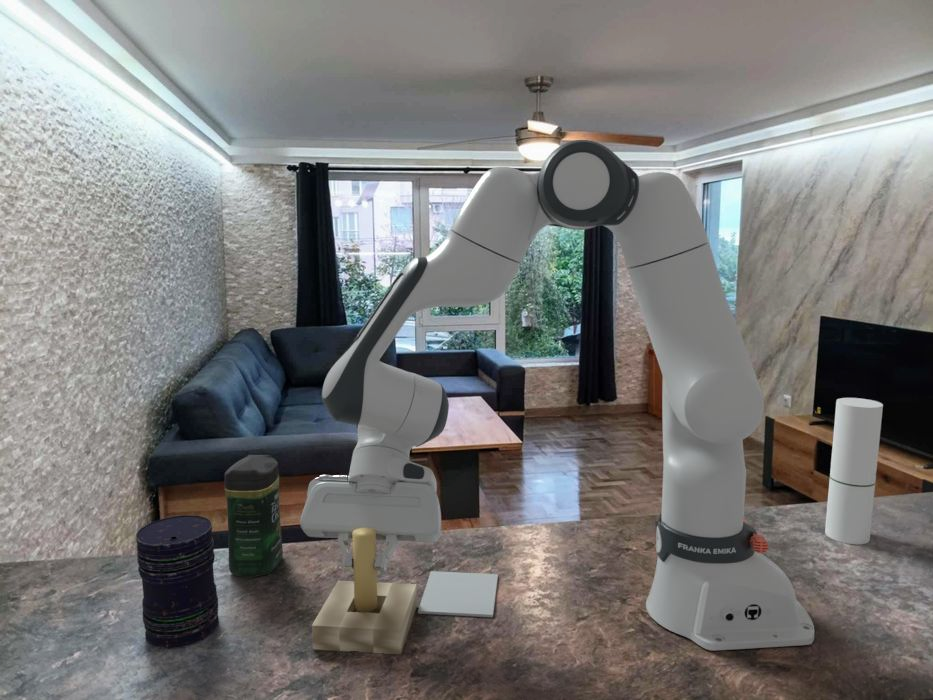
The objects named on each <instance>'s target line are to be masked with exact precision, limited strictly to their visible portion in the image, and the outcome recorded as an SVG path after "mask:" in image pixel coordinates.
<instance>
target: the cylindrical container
mask: <svg viewBox="0 0 933 700" xmlns="http://www.w3.org/2000/svg"><path fill="white" fill-rule="evenodd" d="M883 408H884V404H883V403H882V402H880V401H878V400H873V399H866V398H862V397H861V398H858V397H841V398H837V399H836V401H835V411H834V412H835V413H834V426H833V436H832V446H831V447H832V449H831V459H830V469H829V470H830V471H829V472H830V473H829V480H828V491H827V492H828V493H827V505H826V506H827V507H826V515H825V516H826V517H825V526H824V527H825V528H824V533H825V535H826V536H827V537H829V538H830V539H832V540H834V541H837V542H840V543H844V544H847V545H858V546H859V545H865V544H867V543H869V542H870V540H871V529H872V521H873V520H872V519H873V511H874V510H873V509H874V501H875V489H876V479H877V468H878V459H879V449H880V441H881V440H880V439H881V430H882V419H883Z"/></svg>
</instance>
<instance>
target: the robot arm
mask: <svg viewBox="0 0 933 700" xmlns="http://www.w3.org/2000/svg"><path fill="white" fill-rule="evenodd" d="M547 226H552V227H558V228H564V229H569V230H575V231H583V230H589V229H593V228H595V227H605V228H607V229H608V230H610V232H612V234H613V235H614V236H615V238H616V241H617V242H618V244H619V246H620V249H621V252H622V255H623V259H624V262H625V265H626V266H625V267H626V269H627V272H628V275H629V278H630V282H631V285H632V287H633V291H634V294H635V297H636V300H637V304H638V307H639V310H640V312H641V313H640V314H641V316H642V321H643V322H644V326H645V329H646V331H647V333H648V337H649V339H650V342H651V347H652V348H653V352H654V354H655V357H656V360H657V363H658V366H659V369H660V372H661V375H662V383H661V385H662V387H661V388H662V390H661V391H662V407H661V409H662V412H661V414H662V417H661V418H662V422H661V423H662V455H663V465H662V467H663V468H662V469H663V470H662V471H663V472H662V492H661V493H662V495H661V513H659V515H658V520H657V526H656V537H655V539H656V540H655V541H656V542H655V544H656V545H655V549H656V553H657V561H656V566H655V571H654V577H653V581H652V583H651V587H650V590H649V593H648V596H647V599H646V602H645V609H646V611H647V613H648V615H649V616H650V618H652V620H654V621H655V622H656V623H657V624H659V625H660V626H662V627H663V628H665V629H666V630H669V631H670V632H673V633H674V634H678V635H680V636H683V637H685V638H687V639H689V640H691V641H692V642H694V643H695V644H697V645H698V646H700V647H701V648H703V649H705V650H708V651H727V650H731V651H732V650H746V649H761V648H779V647H794V646H797V647H798V646H806V645H807V646H809V645H812V644H813V642H814V640H815V636H816V635H815V626H814V623H813V621H812V618H811V616H810V615H809V613H808V611H807V610H806V609H805V608H804V606H803V605H802V604H801V603H800V602H799V601H798V600H797V595H796V592H795V588H794V586H793V584H792V582H791V580H790V579H789V577H788V576H787V575H786V573H785V572H784V570H782V569H781V567H779V566H778V565H777V564H776V563H775V562H774V561H772V560H771V559H769V558H768V557H767V556H766V555H764V554H765V553H766V552H767V551H768V550H769V547H770V546H769V543H768V542H767V540H766V539H765V537H764V536H763V535H761V534H758V533H757V530H756V529H755V528H754V527H753V526H752V525H750V524H749V523H748V522H747V521H746V520H745V519H744V515H745V501H746V500H745V499H746V487H747V486H746V485H747V484H746V483H747V470H746V469H747V468H746V463H745V453H744V442H743V440H745V439H747V438H748V437H749V436H751V435H752V434H753V433H754V432H755V431H756V429H758V427H759V425H760V423H761V421H762V419H763V416H764V410H765V405H764V404H765V403H764V402H765V401H764V395H763V392H762V388H761V386H760V384H759V381H758V377H757V374H756V372H755V368H754V366H753V363H752V361H751V358H750V355H749V352H748V350H747V347H746V344H745V342H744V339H743V336H742V334H741V331H740V329H739V325H738V324H737V321H736V319H735V316H734V314H733V312H732V309H731V307H730V305H729V303H728V300H727V297H726V294H725V291H724V287H723V284H722V281H721V278H720V274H719V271H718V268H717V265H716V261H715V256H714V254H713V251H712V246H711V244H710V242H709V237H708V235H707V231H706V229H705V227H704V224H703V220H702V219H701V215H700V214H699V211H698V209H697V206H696V204H695V202H694V201H693V198H692V196H691V195H690V193H689V191H688V189H687V188H686V186H685V184H684V182H683V181H682V179H681V178H679V177H678V176H677V175H675V174H673V173H670V172H664V171H662V172H661V171H654V172H653V171H652V172H648V173H644V174H642V175H638V174H637V173H636V172H635V171H634V169H632V168H631V167H630V166H629V165H627V164H626V163H625V162H624V161H623V160H622V159H621V158H620V157H619V156H617V154H615V153H614V151H612V150H611V149H610V148H609V147H607V146H605V145H603V144H601V143H599V142H596V141H593V140H588V139H577V140H573V141H568V142H565V143H563V144H561V145H560V146H558V147H557V148H555V149H554V150H553V151H552V152H551V153H550V154H549V156H547V157H546V159H545V161H544V162H543V164H542V166H541V169H540V170H539V171H537V172H535V173H526V172H524V171H521V169H520V170H519V169H517V168H514V167H509V166H496V167H493V168H489V169H488V170H486V172H484V173H482V175H481V177H480V178H479V180H477V182H476V183H475V185H474V187H472V190H471V191H470V193H469V194H468V196H467V197H466V198H465V201H464V202H463V204H462V205H461V207H460V209H459V211H458V213H457V214H456V217H455V218H454V220H453V222H452V224H451V227H450V229H449V231H448V233H447V235H446V237H445V238H444V240H443V241H442V242H440V244H439V245H438V246H437V247H436V248H435V249H434V250H433V251H431V252H430V253H429V254H427V255H425V256H420V257H414V258H413V259H412V260H410V261H409V262H407V264H406V266H404V267H403V268H402V270H401V271H400V272H399V274H398V275H397V276H396V277H395V279H394V280H393V282H392V283H391V284H390V286H389V287H388V289H387V290H386V292H385V293H384V294H383V296H382V297H381V299H380V300H379V302H378V303H377V304H376V306H375V307H374V309H373V310H372V312H371V313H370V314H369V316H368V318H367V319H366V321H365V323H364V324H363V325H362V327H361V328H360V330H359V331H358V333H357V334H356V336H355V337H354V339H353V340H352V341H351V343H350V344H349V346H348V347H347V348H346V349H345V350H344V351H343V352H342V354H341V355H340V356H339V358H338V359H337V360H336V361H335V363H334V364H333V365H332V366H331V368H330V370H329V371H328V372H327V374H326V377H325V379H324V382H323V385H322V390H321V394H320V395H321V400H322V403H323V405H324V407H325V409H326V410H327V412H328V413H329V415H330V417H332V419H333V421H335V422H339V423H344V424H348V425H352V426H357V443H356V446H355V447H354V449H353V451H352V456H351V461H350V467H349V471H348V475H347V474H336V475H330V474H321V475H319V477H315V478H314V479H312V480H310V482H309V484H308V487H307V491H306V501H305V503H304V507H303V509H302V513H301V516H300V520H299V525H300V528H301V529H302V531H303V532H304V534H306V536H307V537H310V538H326V539H327V538H328V539H329V538H330V539H332V538H333V539H337V541H338V544H339V547H340V550H341V552H342V559H341V568H342V569H344V570H353V552H352V553H350V552H349V549H348V547H347V546H351V545H352V541H353V536H352V533H353V531H354V530H356V529H358V528H364V527H367V528H373V529H374V530H375V531H376V541H385V544H386V545H387V546H386V547H385V548H384V550H383V552H382V553H381V554H376V556H375V560H376V561H375V562H374V569H375V570H377V572H378V571H380V572H381V571H382V572H386V571H387V570H388V561H389V560H390V558H391V557H392V555H394V553H395V552H396V551H397V549H398V546H399V542H412V543H413V542H415V543H432V544H433V543H435V542H437V541H438V540H439V538H440V537H441V532H442V512H441V507H440V506H441V505H440V501H439V497H438V494H437V491H438V489H437V488H438V484H437V483H438V482H437V479H436V477H435V474H434V472H433V470H432V469H431V468H429V467H428V466H424V465H422V464H419V463H416V462H413V461H411V458H410V452H411V450H412V448H414V447H420V446H422V445H424V444H426V443H428V442H430V441H432V440H434V439H436V438H438V437H439V436H440V434H442V433H443V431H444V429H445V428H446V424H447V421H448V415H449V407H450V404H449V403H450V402H449V398H448V395H447V392H446V389H445V388H444V386H443V385H442V384H441V383H440V382H437V381H436V380H434V379H431V378H428V377H425V376H423V375H421V374H417V373H414V372H410V371H408V370H404V369H402V368H398V367H396V366H393V365H390V364H387V363H384V362H383V361H381V358H382V357H383V355H384V354H385V352H386V351H387V349H388V348H389V346H390V345H391V343H392V342H393V341H394V339H395V338H396V337H397V336H398V335H397V334H398V333H399V332H400V331H401V329H402V328H403V326H404V324H405V323H406V322H407V320H408V319H409V318H411V316H413V315H414V314H415V313H417V312H420V311H423V310H426V309H431V308H432V309H433V308H443V307H444V308H447V307H448V308H449V307H450V308H470V307H471V308H472V307H478V306H483V305H486V304H488V303H492V302H493V301H496V300H497V299H498V298H500V297H501V296H503V294H505V292H506V291H507V290H508V288H509V287H510V285H511V284H512V282H513V280H514V279H515V277H516V275H517V273H518V271H519V269H520V267H521V265H522V262H523V260H524V259H525V256H526V254H527V252H528V250H529V248H530V246H531V244H532V242H533V240H534V239H535V238H536V236H537V234H539V232H541V230H542V229H544V228H545V227H547Z"/></svg>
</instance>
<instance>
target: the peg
mask: <svg viewBox="0 0 933 700" xmlns="http://www.w3.org/2000/svg"><path fill="white" fill-rule="evenodd" d="M352 536H353V539H352V553H353V569H352V570H353V581H354V604H355V609H356V610H358V611H361V612H368V611H372V610H374V609H375V608H376V607H377V582H378V575H377V574H378V573H377V572H378V570H375V569H374V562H375V561H376V560H375V556H376V555H377V540H376V531H375V530H374V529H373V528H367V527H364V528H358V529H356V530H354V531H353V533H352Z"/></svg>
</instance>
